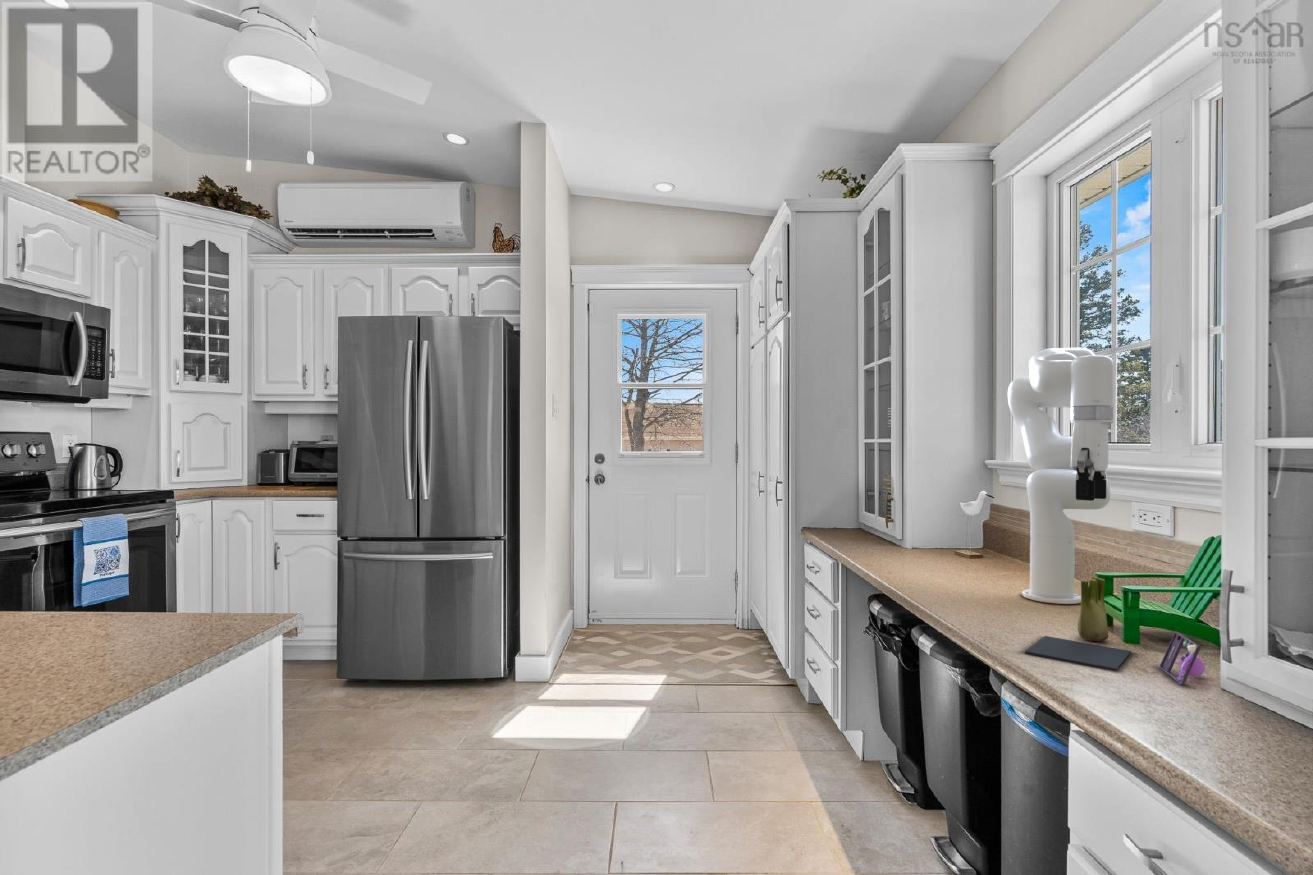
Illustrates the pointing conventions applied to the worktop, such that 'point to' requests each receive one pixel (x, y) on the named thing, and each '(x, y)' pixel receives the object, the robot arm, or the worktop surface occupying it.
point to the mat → (1079, 652)
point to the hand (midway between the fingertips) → (1091, 499)
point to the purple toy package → (1183, 658)
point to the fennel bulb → (1093, 611)
